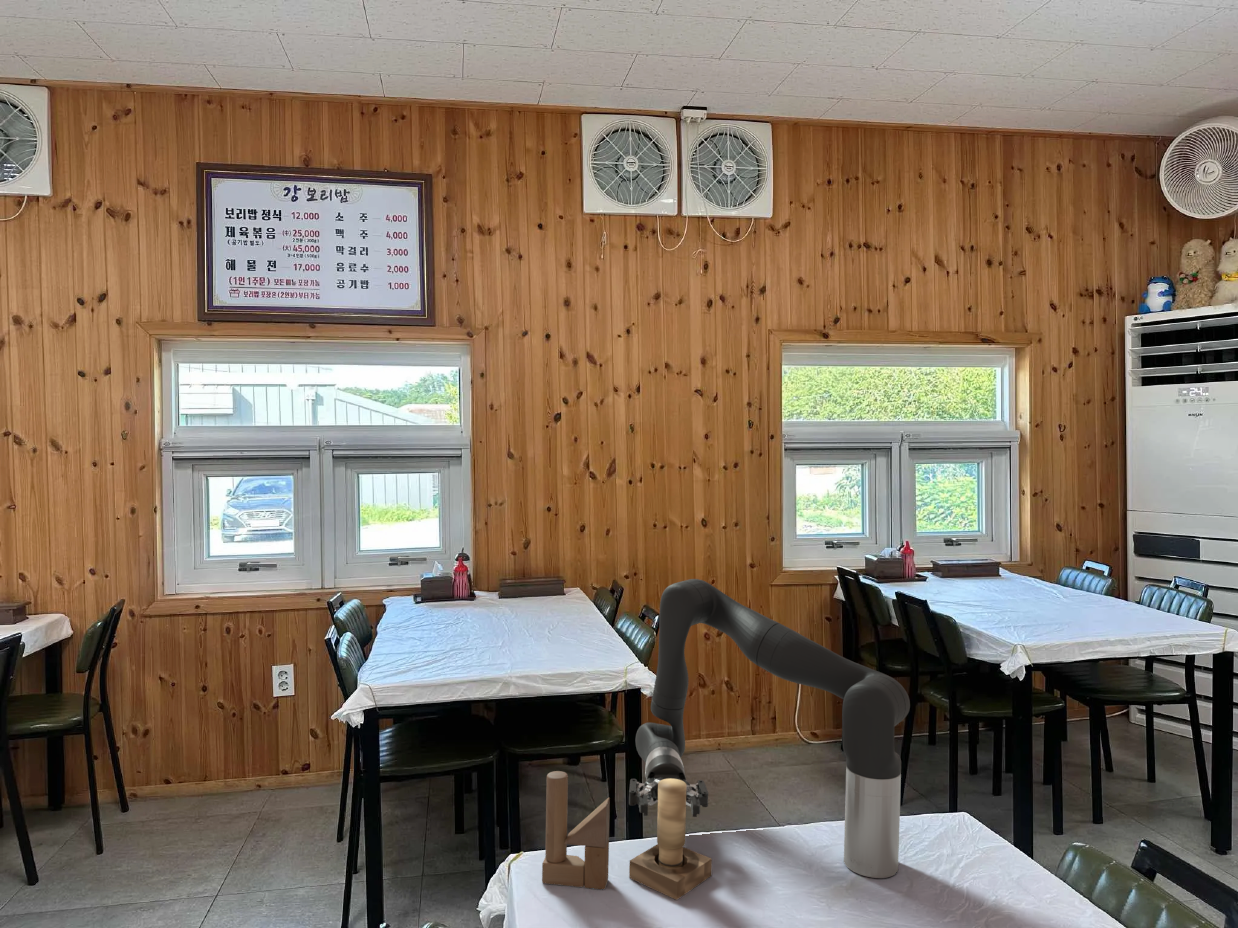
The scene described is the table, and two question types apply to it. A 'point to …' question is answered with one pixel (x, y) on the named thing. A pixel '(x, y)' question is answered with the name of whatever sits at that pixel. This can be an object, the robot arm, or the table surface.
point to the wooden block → (574, 840)
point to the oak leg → (671, 822)
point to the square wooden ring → (670, 872)
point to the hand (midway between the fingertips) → (670, 810)
